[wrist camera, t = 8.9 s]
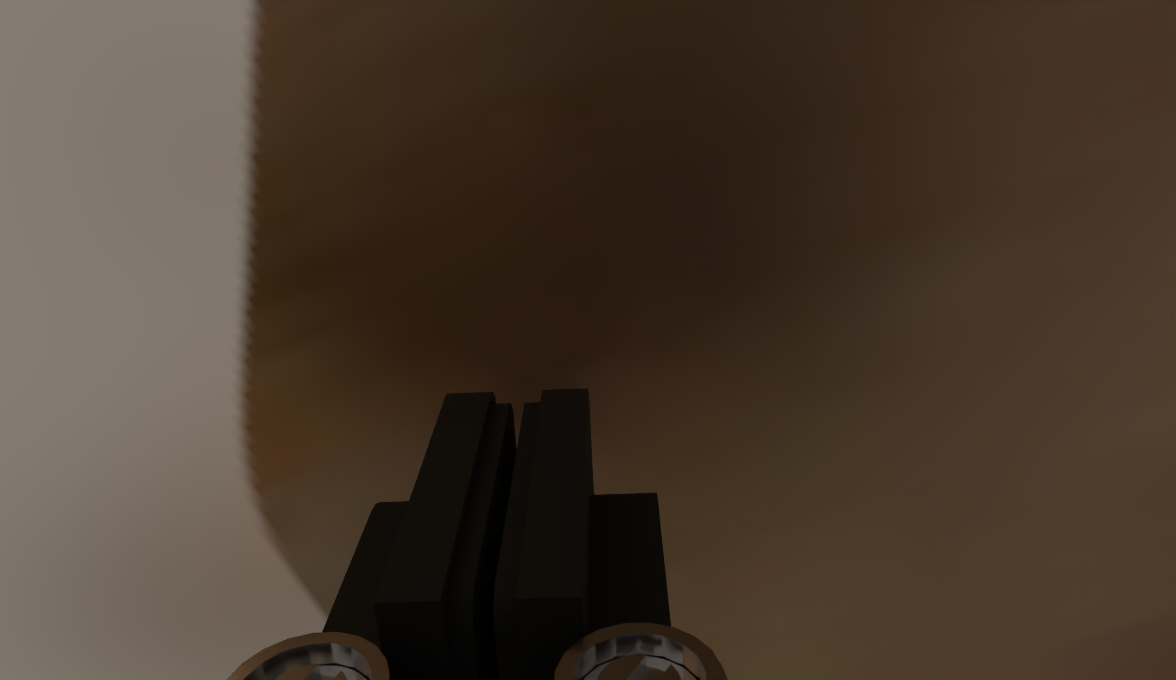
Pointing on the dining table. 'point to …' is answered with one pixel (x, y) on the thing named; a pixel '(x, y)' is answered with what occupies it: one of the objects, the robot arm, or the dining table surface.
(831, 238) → the dining table surface
